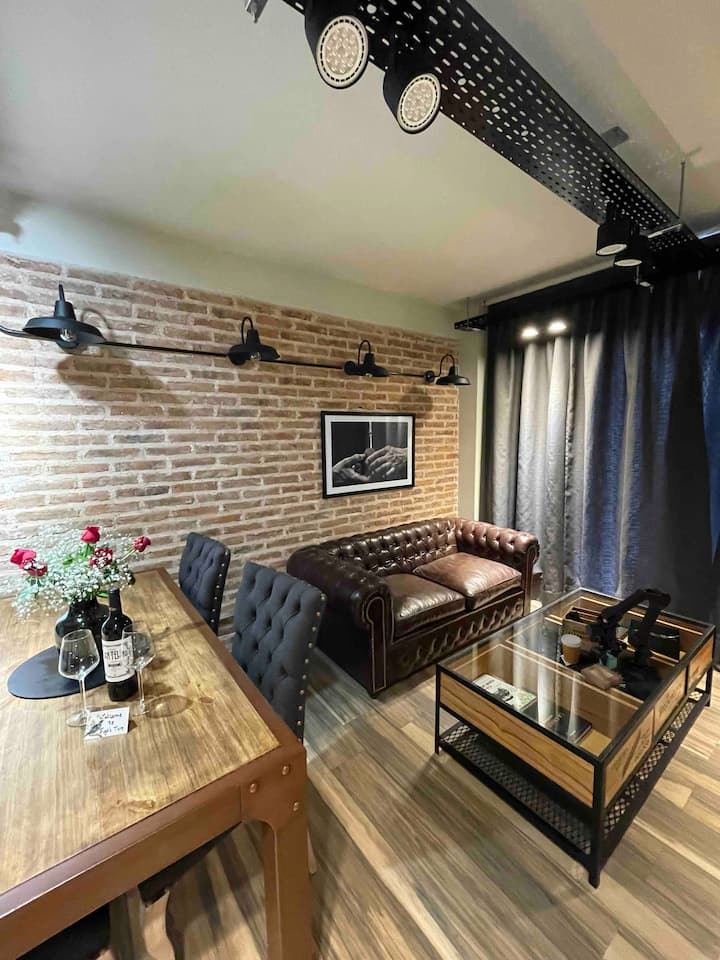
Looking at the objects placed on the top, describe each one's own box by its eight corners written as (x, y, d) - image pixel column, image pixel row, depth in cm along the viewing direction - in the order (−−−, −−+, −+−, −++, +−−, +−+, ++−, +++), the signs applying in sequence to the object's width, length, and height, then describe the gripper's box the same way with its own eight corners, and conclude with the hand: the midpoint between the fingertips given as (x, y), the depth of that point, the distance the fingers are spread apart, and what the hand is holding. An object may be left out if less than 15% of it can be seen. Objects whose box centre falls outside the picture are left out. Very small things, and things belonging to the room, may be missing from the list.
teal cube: (606, 661, 201) (607, 652, 200) (616, 667, 196) (616, 658, 196) (599, 664, 199) (600, 655, 198) (609, 670, 195) (609, 661, 194)
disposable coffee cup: (584, 666, 198) (585, 644, 196) (563, 665, 200) (563, 643, 198) (578, 655, 207) (578, 634, 205) (558, 654, 209) (558, 633, 207)
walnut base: (598, 667, 197) (599, 662, 197) (622, 682, 186) (622, 677, 185) (580, 674, 193) (581, 669, 192) (604, 689, 182) (604, 684, 181)
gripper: (607, 622, 206) (606, 650, 208) (580, 631, 199) (579, 660, 202) (628, 633, 196) (627, 662, 198) (601, 642, 189) (600, 672, 191)
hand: (608, 663), depth 198 cm, fingers open, 6 cm apart
